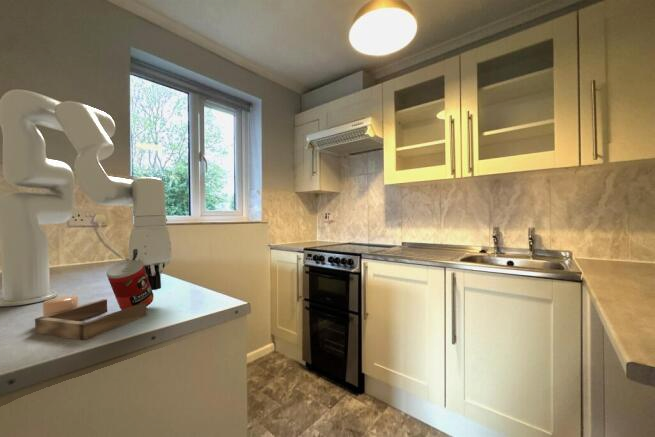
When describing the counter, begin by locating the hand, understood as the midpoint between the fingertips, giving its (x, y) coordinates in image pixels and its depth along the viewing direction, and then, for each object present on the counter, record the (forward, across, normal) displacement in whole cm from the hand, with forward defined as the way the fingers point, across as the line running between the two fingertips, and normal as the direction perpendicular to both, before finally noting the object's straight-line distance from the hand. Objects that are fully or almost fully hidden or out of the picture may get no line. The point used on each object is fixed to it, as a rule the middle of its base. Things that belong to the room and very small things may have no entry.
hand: (154, 289), depth 78 cm
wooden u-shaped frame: (+4, +15, -2) cm, 15 cm away
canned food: (+3, +4, -1) cm, 5 cm away
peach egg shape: (+4, +15, -12) cm, 19 cm away
